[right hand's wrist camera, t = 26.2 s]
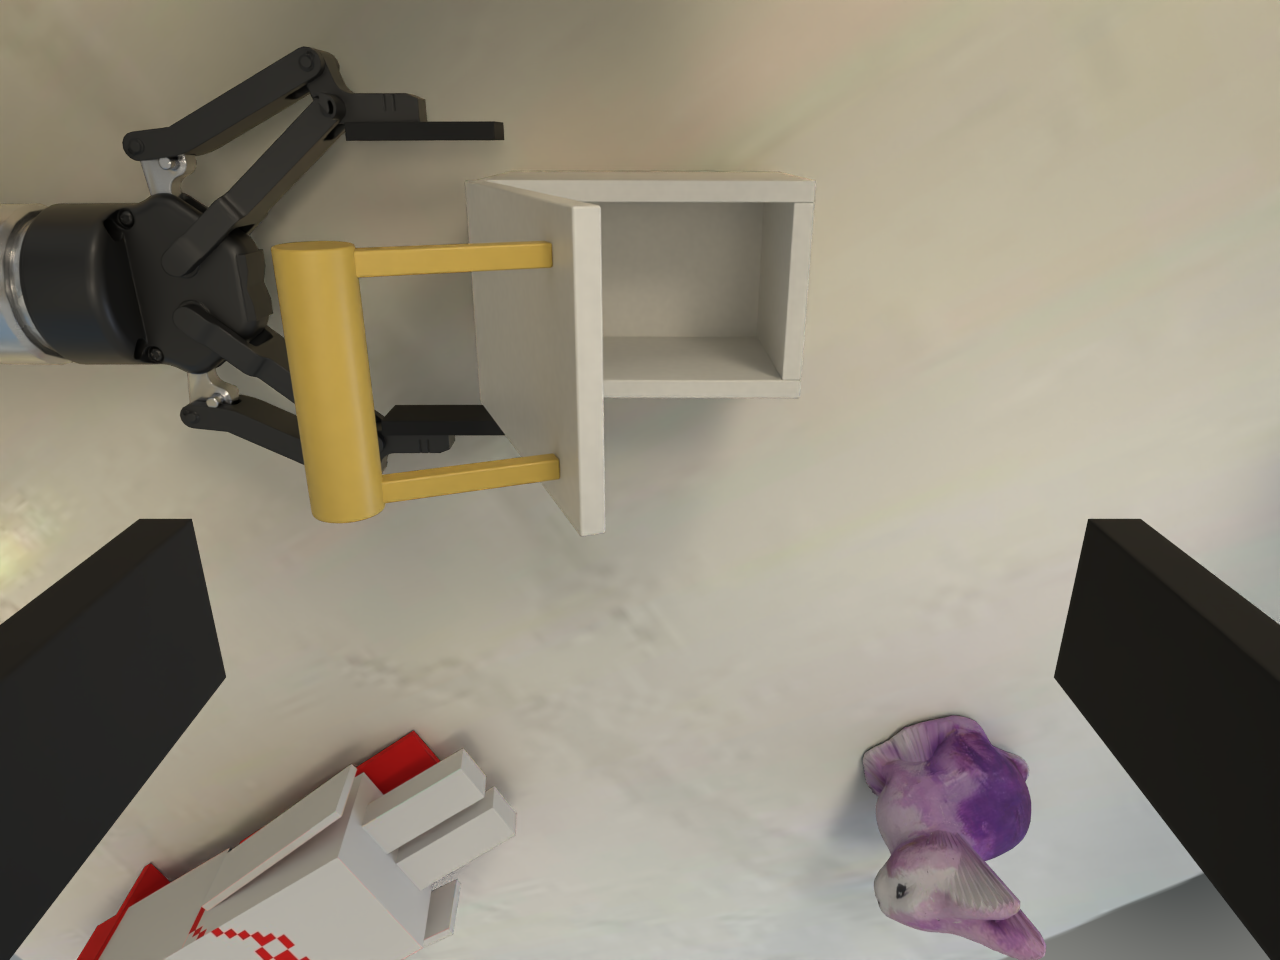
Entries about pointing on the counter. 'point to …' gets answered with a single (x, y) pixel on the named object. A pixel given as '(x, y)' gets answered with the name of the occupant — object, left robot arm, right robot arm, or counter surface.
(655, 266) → the chest
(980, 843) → the figurine
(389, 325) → the counter surface
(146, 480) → the counter surface
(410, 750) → the toy
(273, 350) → the left robot arm
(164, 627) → the right robot arm
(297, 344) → the lid
